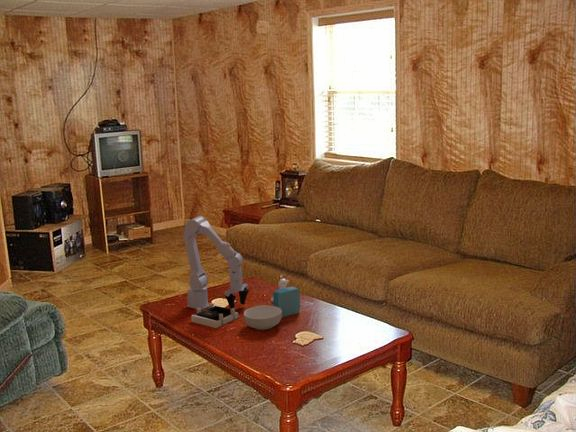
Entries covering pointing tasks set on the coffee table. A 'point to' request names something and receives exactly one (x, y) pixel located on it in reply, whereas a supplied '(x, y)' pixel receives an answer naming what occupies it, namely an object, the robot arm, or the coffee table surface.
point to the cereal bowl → (263, 316)
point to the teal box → (287, 300)
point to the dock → (213, 322)
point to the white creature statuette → (281, 285)
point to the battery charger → (214, 313)
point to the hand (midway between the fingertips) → (237, 306)
